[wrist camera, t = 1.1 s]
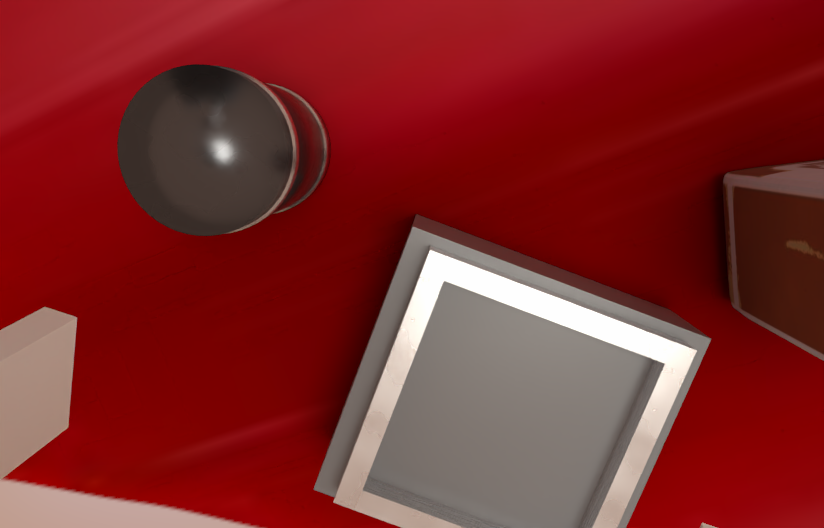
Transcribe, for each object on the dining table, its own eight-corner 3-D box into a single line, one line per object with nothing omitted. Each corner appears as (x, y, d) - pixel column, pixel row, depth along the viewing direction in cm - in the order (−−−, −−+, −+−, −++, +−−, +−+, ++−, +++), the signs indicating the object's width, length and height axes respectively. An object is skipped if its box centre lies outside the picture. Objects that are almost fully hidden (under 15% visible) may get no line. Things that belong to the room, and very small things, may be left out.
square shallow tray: (330, 440, 41) (313, 489, 36) (416, 214, 39) (412, 226, 34) (573, 529, 42) (596, 592, 36) (670, 309, 40) (711, 338, 34)
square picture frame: (337, 487, 36) (333, 502, 34) (430, 245, 34) (430, 250, 32) (580, 576, 36) (586, 595, 34) (685, 341, 34) (696, 350, 32)
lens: (195, 184, 40) (93, 202, 28) (233, 68, 39) (144, 35, 27) (309, 227, 40) (255, 263, 28) (350, 112, 39) (313, 99, 27)
